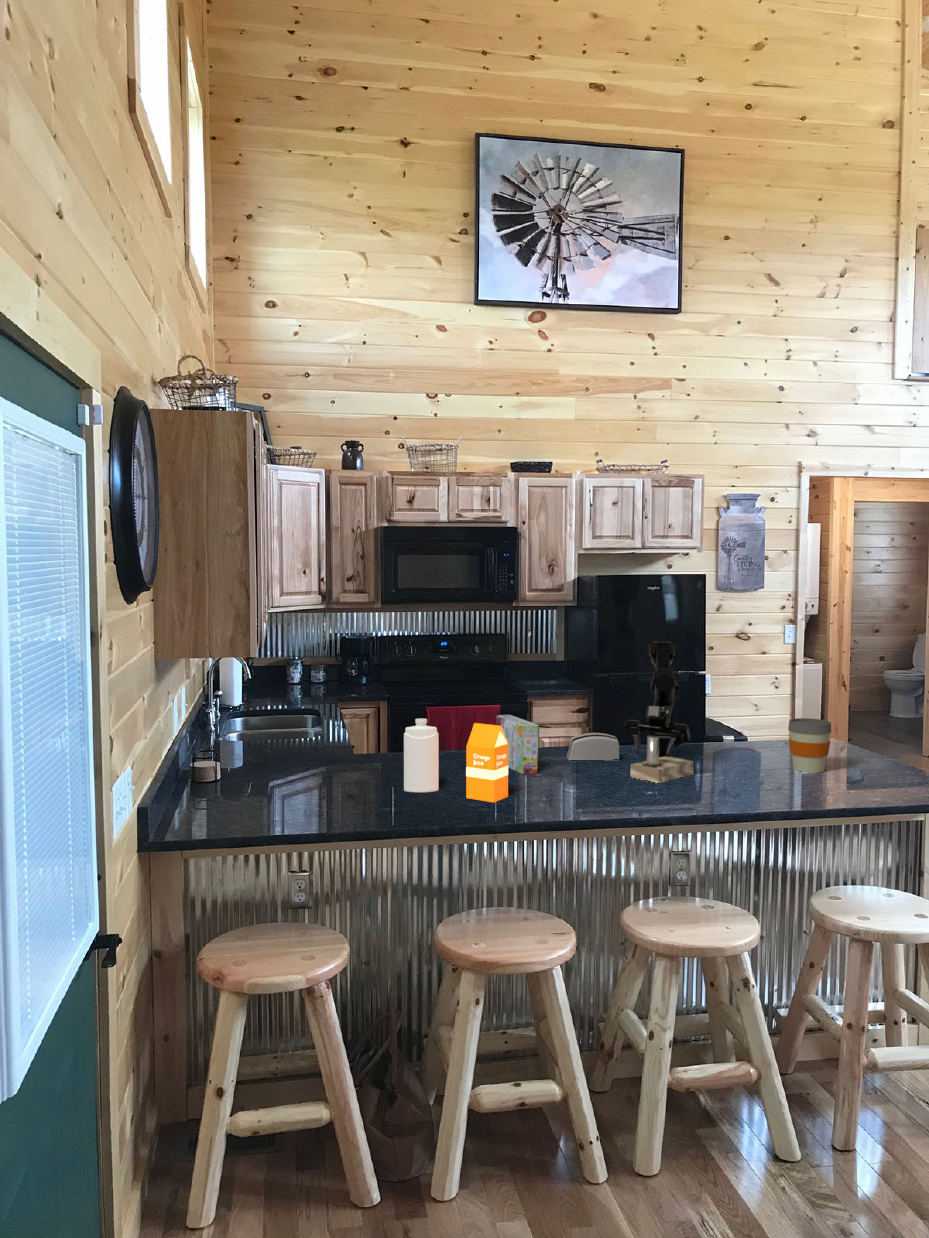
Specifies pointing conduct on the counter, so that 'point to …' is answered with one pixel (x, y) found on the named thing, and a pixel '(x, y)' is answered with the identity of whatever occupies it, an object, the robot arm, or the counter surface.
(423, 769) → the squeeze bottle
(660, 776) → the birch hole board
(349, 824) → the counter surface
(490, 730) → the orange juice
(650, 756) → the steel peg
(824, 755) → the reusable coffee cup
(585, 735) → the napkin holder
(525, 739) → the snack box
